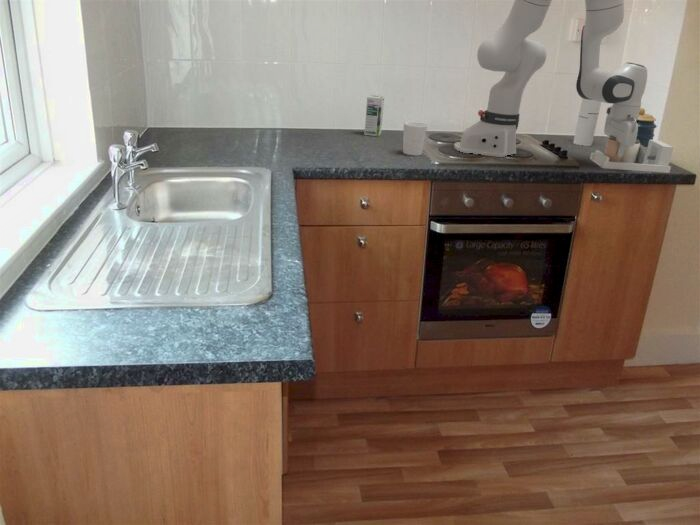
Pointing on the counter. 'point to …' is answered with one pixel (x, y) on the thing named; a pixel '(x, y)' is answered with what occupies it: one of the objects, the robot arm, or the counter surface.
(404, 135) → the white cup
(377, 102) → the syrup box
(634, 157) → the lane jar
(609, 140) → the jar
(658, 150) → the white tray
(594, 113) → the cylindrical container
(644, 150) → the pusher
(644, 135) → the canister
